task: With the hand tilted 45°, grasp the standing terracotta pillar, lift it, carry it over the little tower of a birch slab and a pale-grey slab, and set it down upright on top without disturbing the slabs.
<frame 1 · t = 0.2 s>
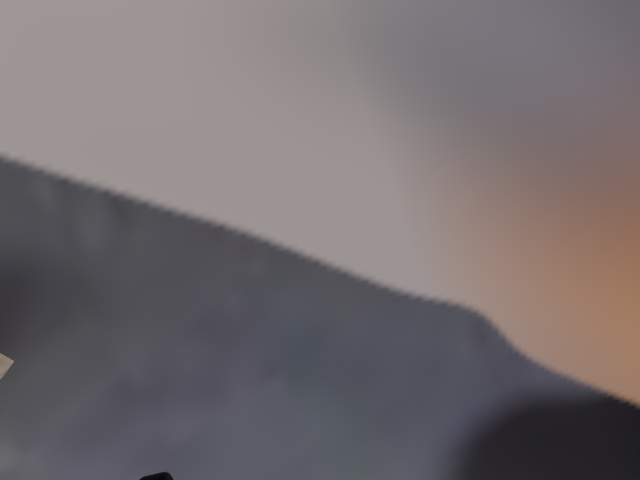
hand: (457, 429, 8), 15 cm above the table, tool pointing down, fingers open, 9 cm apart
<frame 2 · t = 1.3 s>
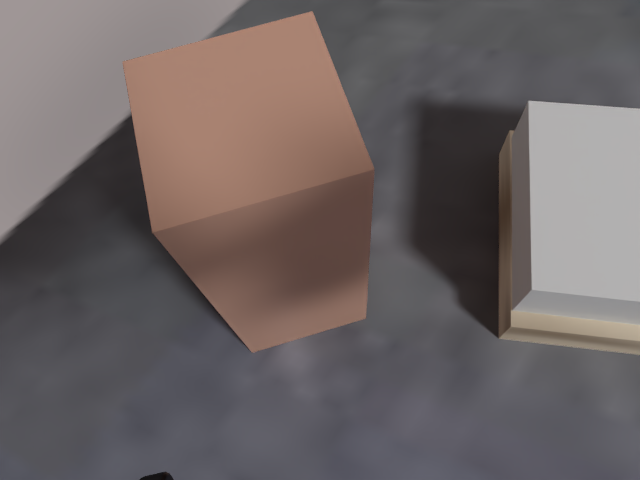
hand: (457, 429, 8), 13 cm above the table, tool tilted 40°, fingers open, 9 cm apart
top slab: (613, 227, 22), point 2 cm above the table, touching bottom slab
pillar: (294, 282, 24), on the table
bottom slab: (599, 254, 24), on the table, touching top slab
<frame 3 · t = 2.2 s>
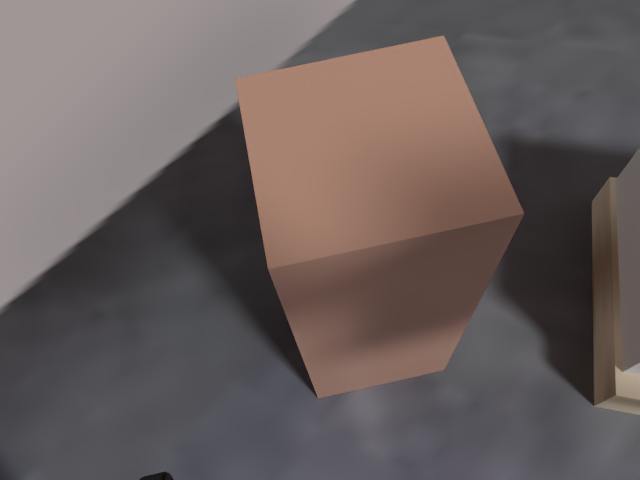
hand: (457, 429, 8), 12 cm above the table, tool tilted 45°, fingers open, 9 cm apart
pillar: (365, 324, 22), on the table
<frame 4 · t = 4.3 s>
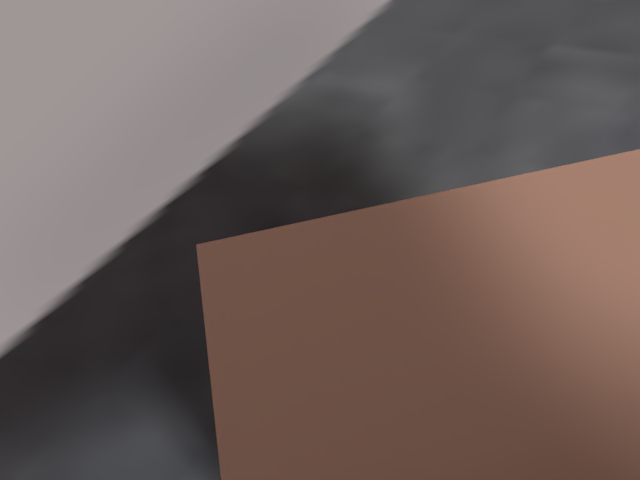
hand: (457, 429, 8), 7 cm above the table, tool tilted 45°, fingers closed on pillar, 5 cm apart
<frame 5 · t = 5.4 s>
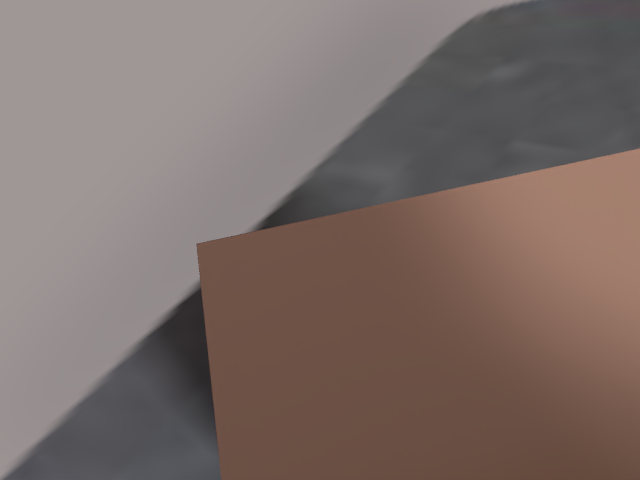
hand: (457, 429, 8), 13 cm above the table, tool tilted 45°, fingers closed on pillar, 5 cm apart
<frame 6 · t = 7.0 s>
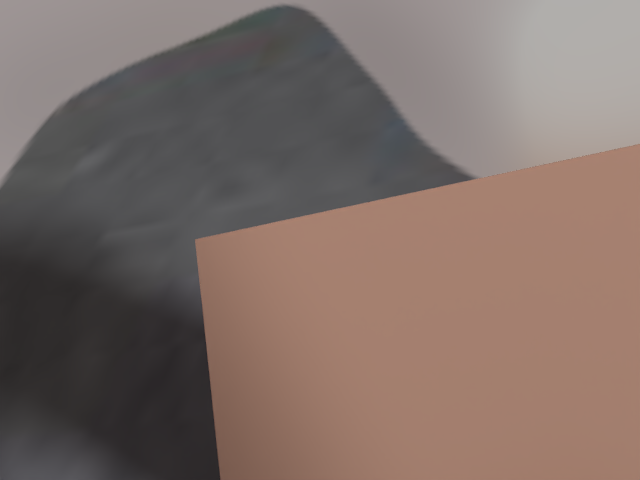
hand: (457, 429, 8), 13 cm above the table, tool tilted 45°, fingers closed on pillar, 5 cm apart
when the fingers open (12 cm above the table, at t = 7.3 s): pillar drops 1 cm, resting on top slab.
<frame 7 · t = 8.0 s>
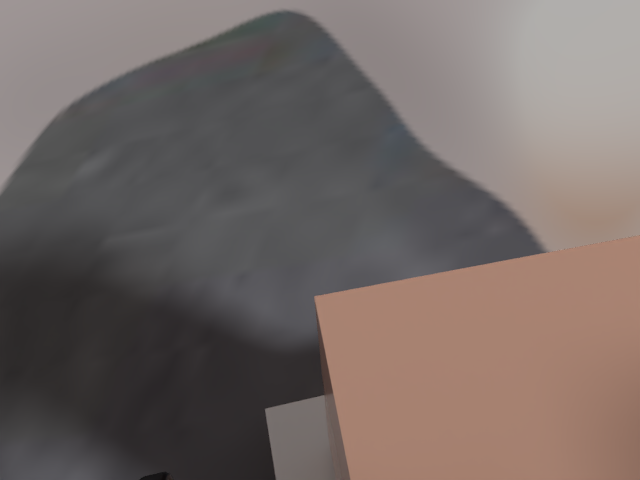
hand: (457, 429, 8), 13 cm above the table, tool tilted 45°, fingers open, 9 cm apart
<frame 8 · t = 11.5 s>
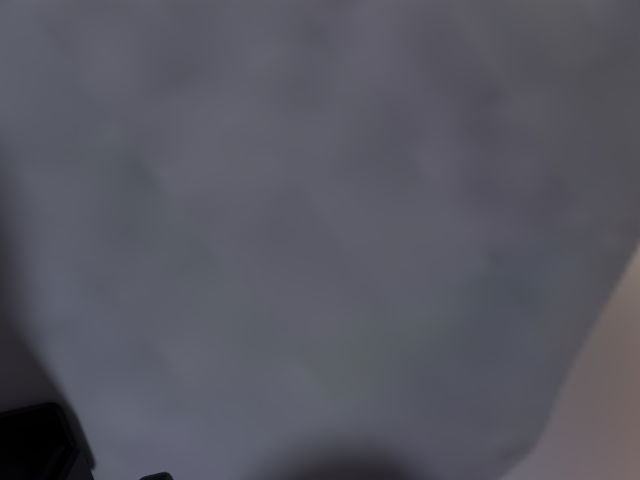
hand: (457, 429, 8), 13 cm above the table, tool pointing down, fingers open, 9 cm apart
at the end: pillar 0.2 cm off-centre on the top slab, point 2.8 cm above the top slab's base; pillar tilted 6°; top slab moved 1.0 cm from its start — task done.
